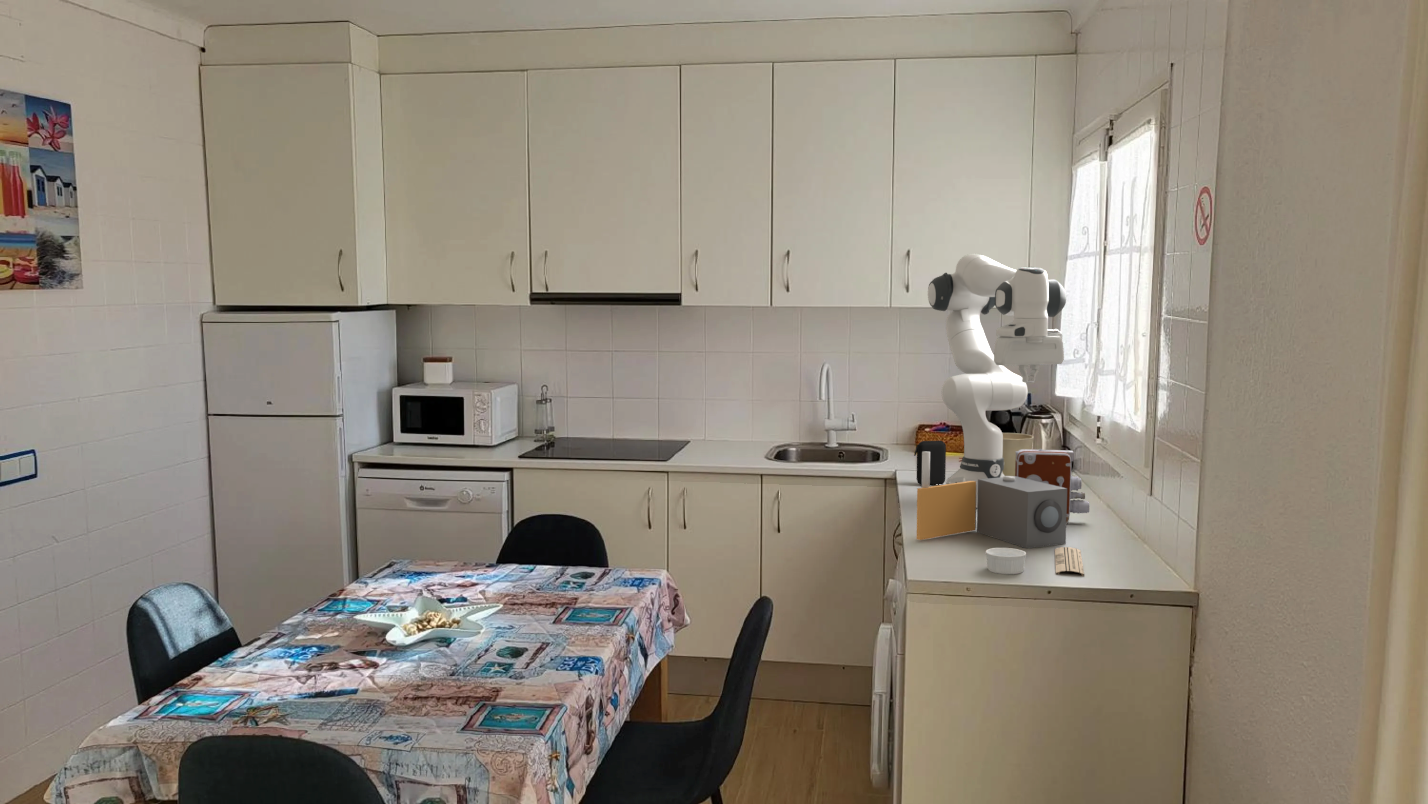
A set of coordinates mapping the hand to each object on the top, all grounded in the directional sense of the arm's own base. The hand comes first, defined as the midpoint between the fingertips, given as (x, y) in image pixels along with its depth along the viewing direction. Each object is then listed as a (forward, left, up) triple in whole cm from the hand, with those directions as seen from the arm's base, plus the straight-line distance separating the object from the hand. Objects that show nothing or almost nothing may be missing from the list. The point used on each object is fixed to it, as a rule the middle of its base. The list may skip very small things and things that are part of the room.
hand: (1028, 382), depth 281 cm
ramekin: (+33, -32, -39) cm, 61 cm away
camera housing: (+8, -8, -39) cm, 41 cm away
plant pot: (-58, +40, -39) cm, 81 cm away
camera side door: (-1, -24, -39) cm, 46 cm away
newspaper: (+33, -15, -40) cm, 54 cm away
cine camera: (-4, +12, -39) cm, 41 cm away
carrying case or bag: (-66, +14, -39) cm, 78 cm away
